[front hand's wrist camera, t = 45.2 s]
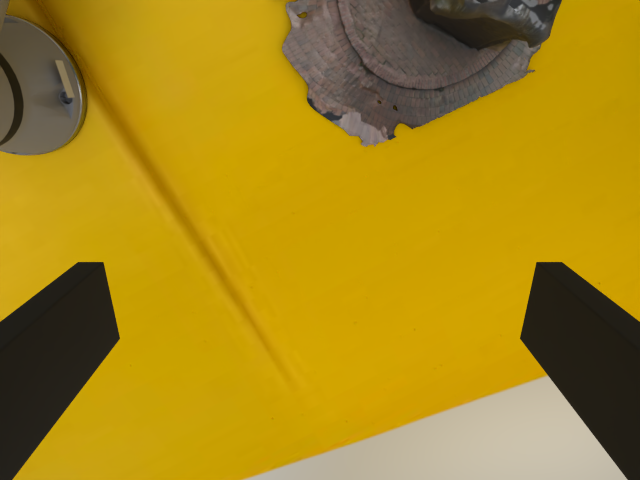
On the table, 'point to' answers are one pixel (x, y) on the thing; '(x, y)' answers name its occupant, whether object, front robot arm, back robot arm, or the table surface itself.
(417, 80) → the sculpture
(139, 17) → the table surface
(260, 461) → the table surface
